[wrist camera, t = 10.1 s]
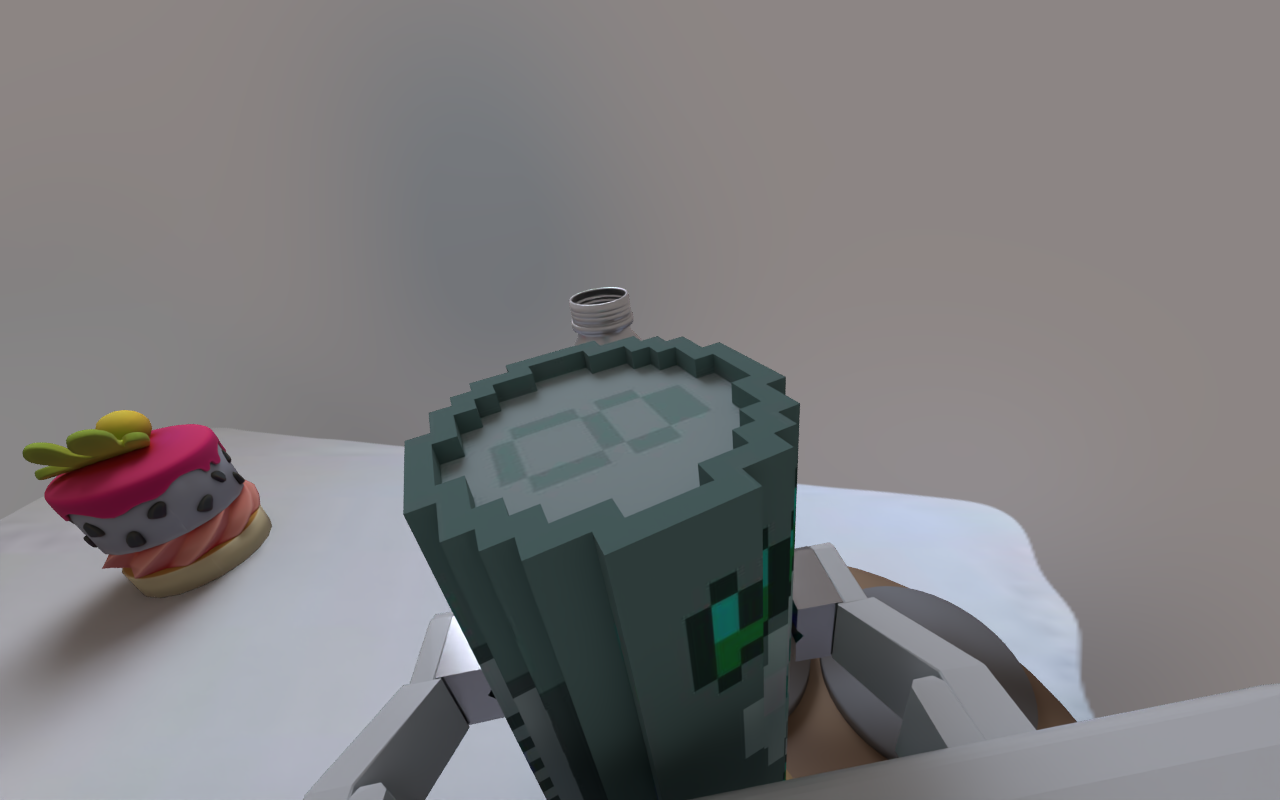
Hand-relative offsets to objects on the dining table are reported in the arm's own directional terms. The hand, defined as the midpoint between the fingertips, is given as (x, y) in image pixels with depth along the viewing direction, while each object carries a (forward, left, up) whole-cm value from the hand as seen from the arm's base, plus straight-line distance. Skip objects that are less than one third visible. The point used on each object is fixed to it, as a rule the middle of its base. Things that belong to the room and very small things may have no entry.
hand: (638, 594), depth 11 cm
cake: (+12, +46, -19) cm, 51 cm away
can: (-1, 0, -9) cm, 10 cm away
